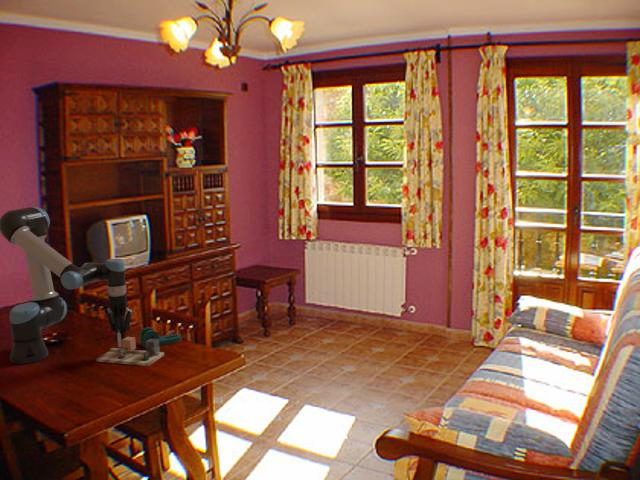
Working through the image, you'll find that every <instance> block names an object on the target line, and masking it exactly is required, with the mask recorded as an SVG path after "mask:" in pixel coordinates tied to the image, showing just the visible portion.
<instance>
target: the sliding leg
mask: <svg viewBox="0 0 640 480" xmlns="http://www.w3.org/2000/svg"><path fill="white" fill-rule="evenodd" d="M122 345H123V347H122V348H121V349H122V350H121V351H119V352H120V357H122V353H123V352H124V351H132V350H137V346H136V345H137V344H136V337H135V336H134V337H132V336H126V338H124V339H123V340H122Z"/></svg>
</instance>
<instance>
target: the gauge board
mask: <svg viewBox="0 0 640 480" xmlns="http://www.w3.org/2000/svg"><path fill="white" fill-rule="evenodd" d="M122 349H123V348H119V347H118V348H117V347H116V348H115V347H111V348H110V349H109V351H107V352H106V353H104V354H102V355H100V356H98V357H97V358H96V362H99V363H110V364H111V363H112V364H120V365H122V364H123V365H132V366H133V365H134V366H144V367H149V366H151V365H152V364H154V363H155V362H157V361H158V360H160V359H161V358H162V357H164V356H165V352H164V351H162V352H161V351H160V346H159V339H149V340H148V341H146V349H145V350H140V349H134V350H132V351H124V352H123V353H122V357H120V352H119V351H121V350H122Z"/></svg>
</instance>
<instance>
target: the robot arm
mask: <svg viewBox="0 0 640 480" xmlns="http://www.w3.org/2000/svg"><path fill="white" fill-rule="evenodd" d="M50 224H51V219H50V217H49V214H48V213H47V212H46V210H44V209H43V208H40V207H39V206H30V207H29V206H28V207H24V208H18V209H11V210H8V211H6V212H5V213H3V214H2V215H1V216H0V234H1V235H2V236H3V238H4V239H6V241H8V242H9V243H10V244H12V245H13V246H18V247H19V248H21V249H22V250H23V251H24V254H25V258H26V259H25V260H26V265H27V269H28V272H29V277H30V283H31V288H32V293H33V295H32V296H31V298H30V302H25V303H21V304H18V305H15V306H14V307H12V308H11V309H10V311H9V322H10V331H11V339H12V345H11V350H10V354H9V361H10V363H12V364H16V365H17V364H18V365H19V364H20V365H22V364H32V363H36V362H39V361H42V360H45V359H46V358H47V357H48V356H49V349H48V348H47V346H46V343H45V341H44V339H43V335H42V333H43V332H42V330H43V329H46V328H48V327H50V326H52V325H56V324H58V323H59V322H61V321H63V320H64V319H65V317H66V315H67V312H68V305H67V303H66V301H65V300H64V299H63V298H62V297H60V294H59V293H58V292H57V291H55V289H54V283H53V278H52V273H51V272H53V274H55V275H56V276H57V277H59V278H60V282H61V285H62V287H63V288H64V289H66V290H75V289H79V288H80V287H84V286H86V285H89V284H91V283H93V282H97V281H99V282H100V281H103V282H107V283H106V284H107V294H108V303H109V306H108V308H106V309H104V313H105V315H106V318H107V320H108V323H109V327H110V330H111V331H112V332H115V339H116V340H117V347H118V348H123V345H122V340H123V339H124V338H126V337H127V336H126V332H128V331H129V330H130V326H131V319H132V315H133V313H134V309H129V306H128V305H127V303H128V296H127V295H128V294H127V285H126V268H125V262H124V260H123V259H121V258H109V259H106V260H105V263H101V262H85V263H83V264H82V265H81V267H78V266H76V265H75V264H73V263H72V262H71V261H70V260H69V259H67V258H66V257H65V256H63V255H62V254H60V253H59V252H58V251H57V250H56V249H54V248H53V247H52V246H50V245H49V244H48V243H46V241H45V239H46V237H47V235H48V234H47V230H48V229H49V227H50Z"/></svg>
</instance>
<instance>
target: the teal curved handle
mask: <svg viewBox="0 0 640 480" xmlns="http://www.w3.org/2000/svg"><path fill="white" fill-rule="evenodd" d="M139 335H140V345H141V346H142V347H143V348H144V349H145V348H146V341H148V340H149V339H159V347H160V346H166V345H172V344H176V343H180V342H182V335H181V334H180V333H173V334H171V333H170V334H167V335H161V336H160V334H159V333H158V332H157V331H156V330H155V329H154V328H152V327H150V326H148V327H144V328H143V329H141V331H140V334H139Z"/></svg>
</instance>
